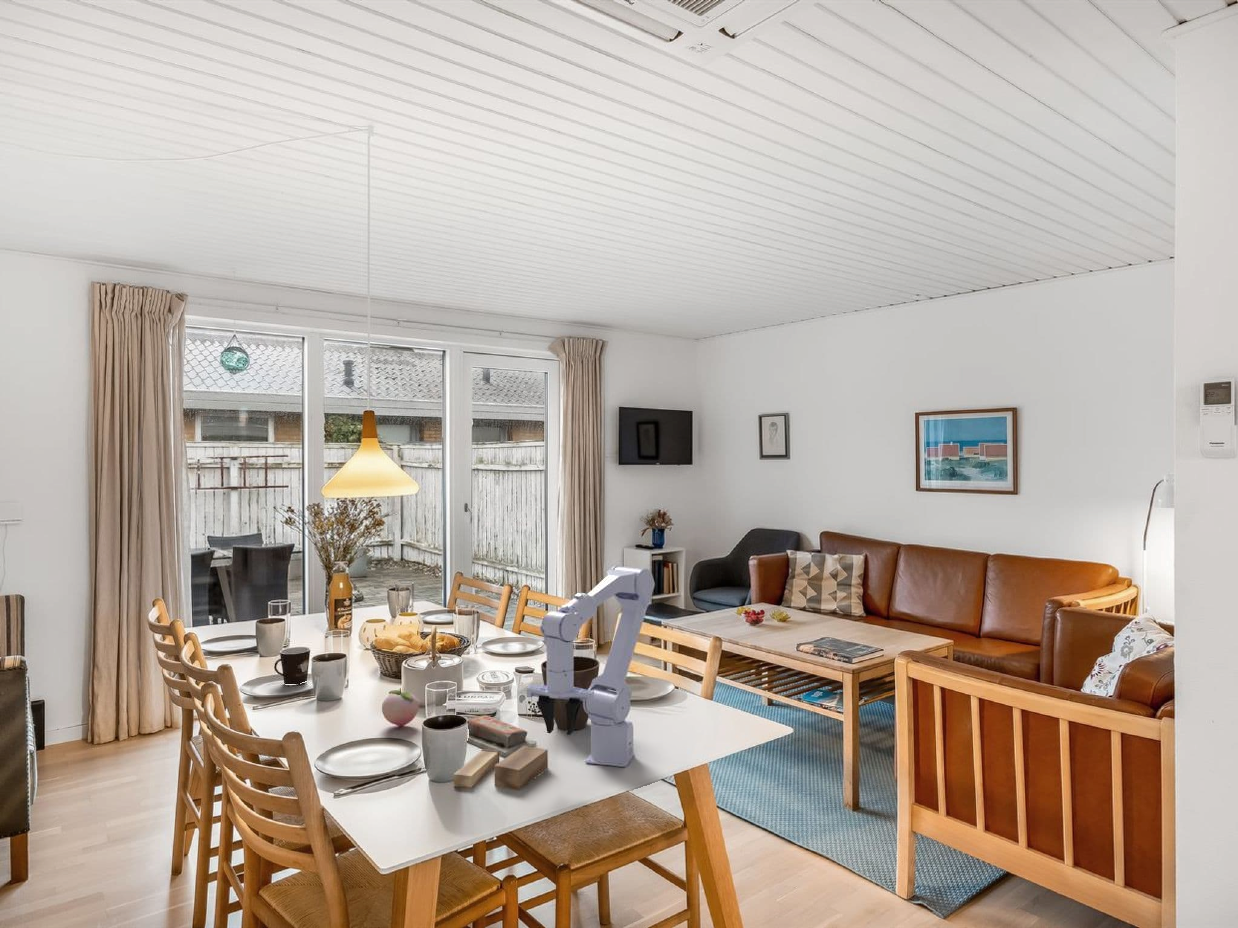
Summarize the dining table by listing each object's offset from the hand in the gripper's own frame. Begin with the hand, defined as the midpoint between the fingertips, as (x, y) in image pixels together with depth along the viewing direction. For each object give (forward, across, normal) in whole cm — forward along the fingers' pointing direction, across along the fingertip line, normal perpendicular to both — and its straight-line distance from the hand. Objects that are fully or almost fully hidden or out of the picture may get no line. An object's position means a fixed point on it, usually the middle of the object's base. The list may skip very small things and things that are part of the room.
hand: (560, 732), depth 164 cm
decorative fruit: (+11, -51, +20) cm, 56 cm away
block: (+11, -9, 0) cm, 14 cm away
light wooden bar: (+10, -19, -1) cm, 22 cm away
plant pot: (+10, -9, +32) cm, 35 cm away
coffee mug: (+11, -104, +45) cm, 114 cm away
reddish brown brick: (+11, -23, +17) cm, 31 cm away
